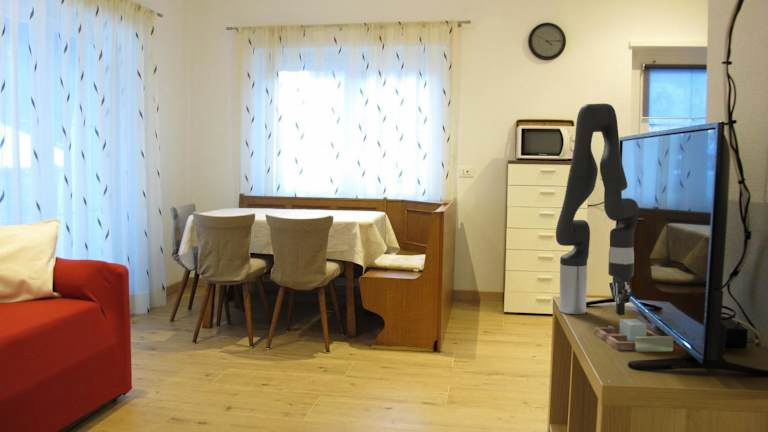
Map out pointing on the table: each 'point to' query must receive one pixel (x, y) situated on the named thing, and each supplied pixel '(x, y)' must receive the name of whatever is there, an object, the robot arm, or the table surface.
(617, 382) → the table surface
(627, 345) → the trap lane
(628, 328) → the blue grey block
